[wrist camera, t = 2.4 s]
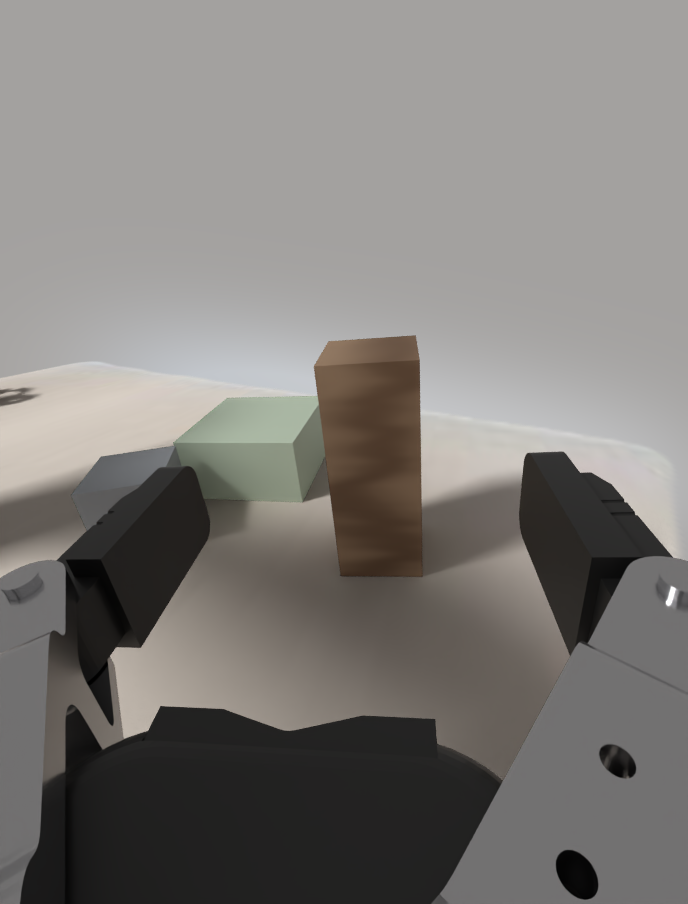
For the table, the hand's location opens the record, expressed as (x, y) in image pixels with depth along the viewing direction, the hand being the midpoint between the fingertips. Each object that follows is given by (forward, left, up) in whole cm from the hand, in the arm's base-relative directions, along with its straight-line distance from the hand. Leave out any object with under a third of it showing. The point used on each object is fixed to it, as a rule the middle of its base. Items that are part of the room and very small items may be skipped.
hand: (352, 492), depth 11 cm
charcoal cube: (-16, +13, -11) cm, 24 cm away
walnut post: (0, +11, -11) cm, 16 cm away
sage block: (-10, +21, -12) cm, 26 cm away
